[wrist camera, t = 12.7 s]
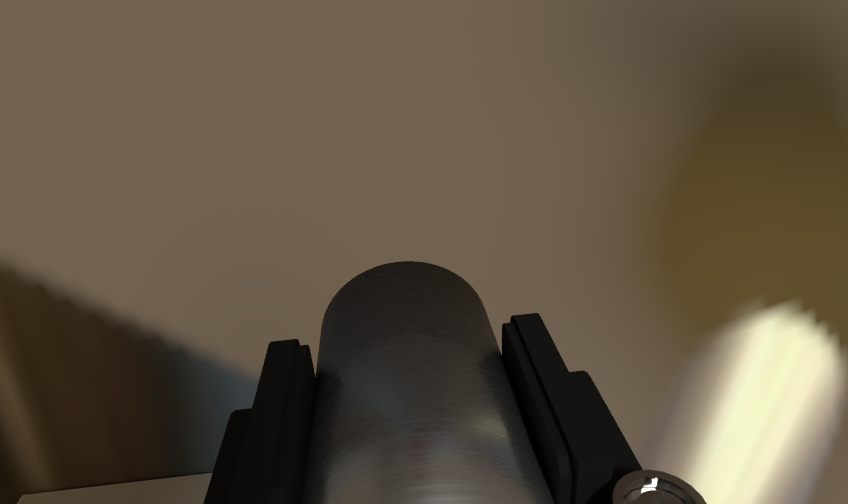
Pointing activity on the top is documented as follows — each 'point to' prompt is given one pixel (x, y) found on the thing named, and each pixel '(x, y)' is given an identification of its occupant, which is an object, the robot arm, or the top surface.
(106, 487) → the seat board
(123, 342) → the top surface
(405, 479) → the leg peg
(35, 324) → the top surface
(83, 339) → the top surface
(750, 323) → the top surface
